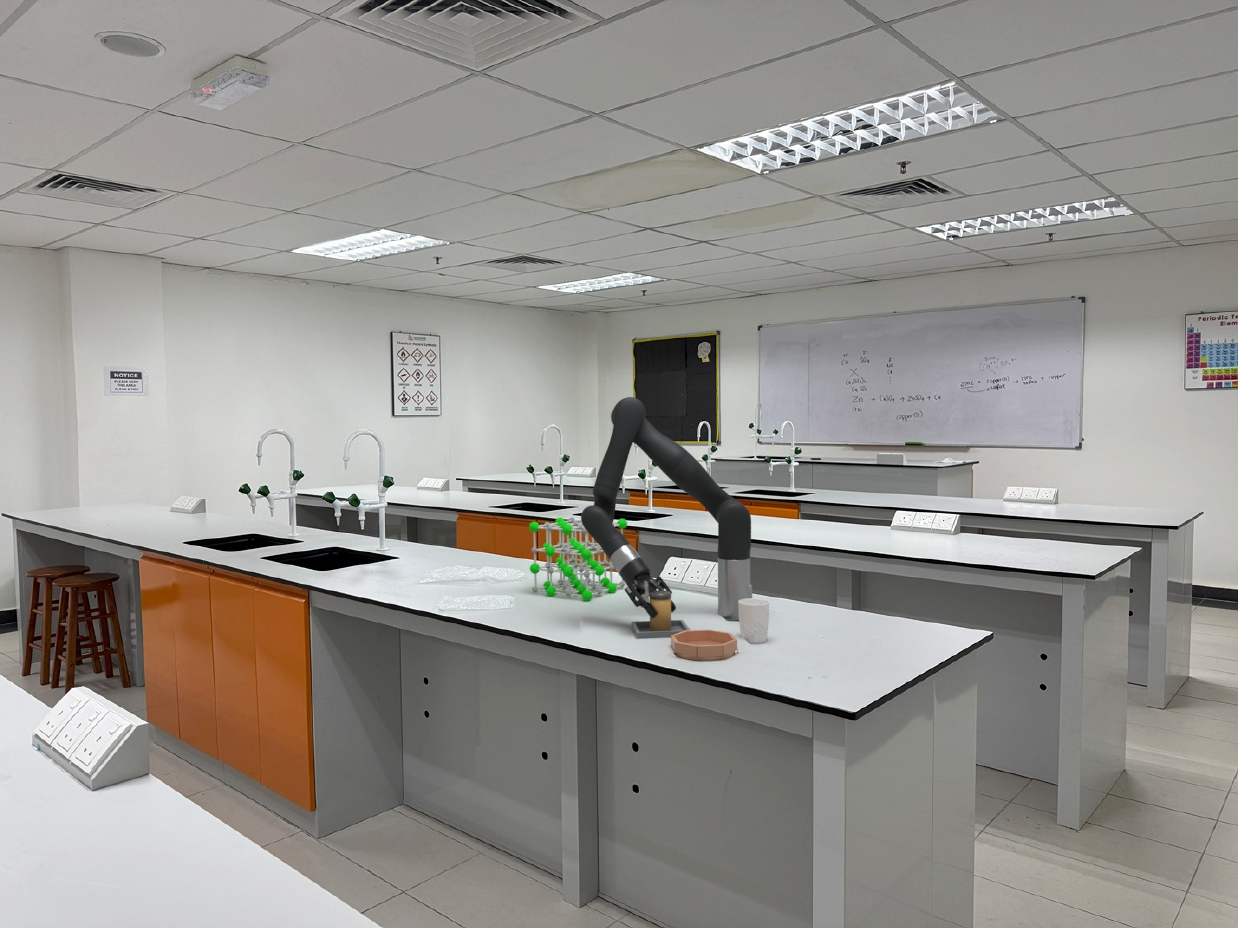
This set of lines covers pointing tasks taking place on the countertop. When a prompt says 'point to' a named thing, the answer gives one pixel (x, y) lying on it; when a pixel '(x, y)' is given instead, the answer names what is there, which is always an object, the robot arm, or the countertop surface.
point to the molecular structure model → (573, 560)
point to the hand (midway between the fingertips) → (664, 613)
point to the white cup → (754, 619)
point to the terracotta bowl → (703, 645)
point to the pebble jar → (661, 610)
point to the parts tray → (644, 632)
